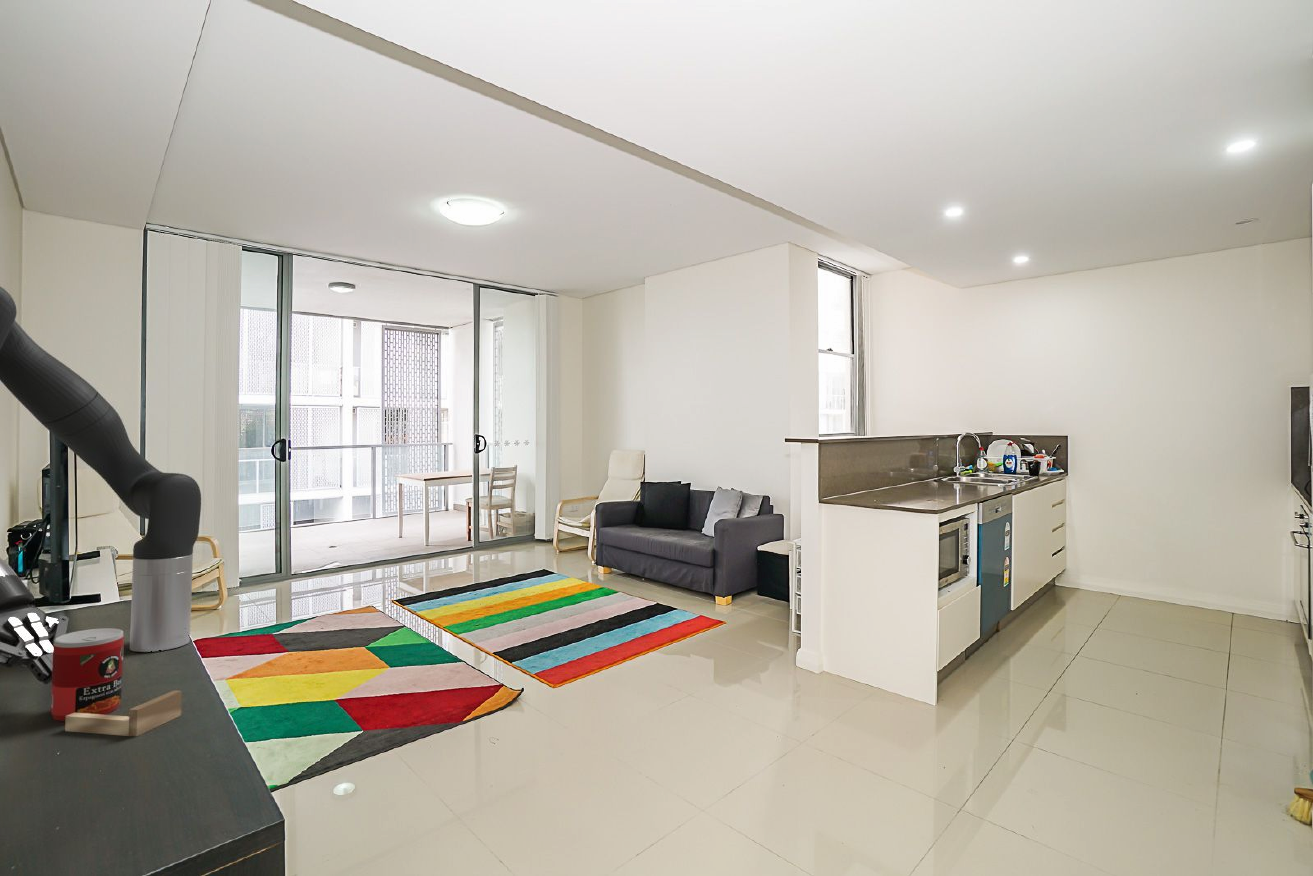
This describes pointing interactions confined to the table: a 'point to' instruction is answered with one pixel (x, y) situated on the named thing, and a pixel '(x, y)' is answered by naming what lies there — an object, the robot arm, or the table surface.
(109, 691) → the canned food
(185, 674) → the table surface
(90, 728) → the bar
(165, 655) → the table surface
